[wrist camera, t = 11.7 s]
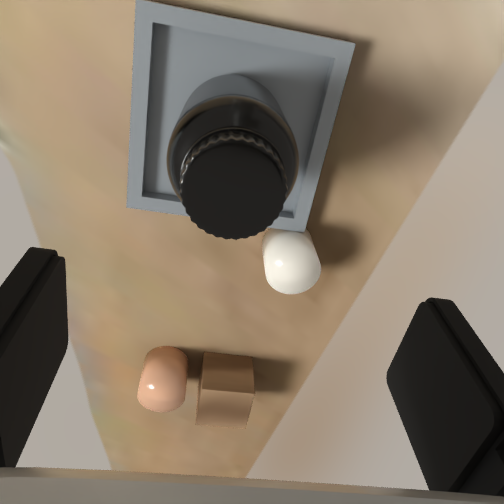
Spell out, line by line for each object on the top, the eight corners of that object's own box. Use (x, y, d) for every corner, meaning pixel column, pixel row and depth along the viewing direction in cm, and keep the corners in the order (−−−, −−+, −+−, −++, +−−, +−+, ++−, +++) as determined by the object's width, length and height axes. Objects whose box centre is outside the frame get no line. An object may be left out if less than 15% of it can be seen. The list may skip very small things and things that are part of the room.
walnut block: (204, 351, 40) (201, 389, 37) (252, 356, 41) (254, 393, 37) (198, 385, 43) (195, 424, 39) (243, 389, 43) (245, 428, 39)
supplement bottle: (302, 112, 29) (345, 175, 19) (244, 191, 32) (253, 284, 22) (216, 47, 27) (211, 79, 17) (161, 138, 30) (126, 214, 19)
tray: (140, -2, 26) (135, -2, 25) (349, 41, 28) (355, 43, 27) (130, 199, 32) (126, 207, 31) (301, 223, 34) (304, 232, 33)
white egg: (267, 218, 34) (271, 243, 30) (317, 225, 34) (327, 251, 31) (257, 261, 36) (260, 290, 32) (304, 268, 36) (313, 297, 33)
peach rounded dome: (146, 343, 40) (138, 377, 36) (190, 348, 40) (187, 381, 37) (143, 375, 42) (136, 410, 38) (186, 379, 42) (182, 413, 39)
